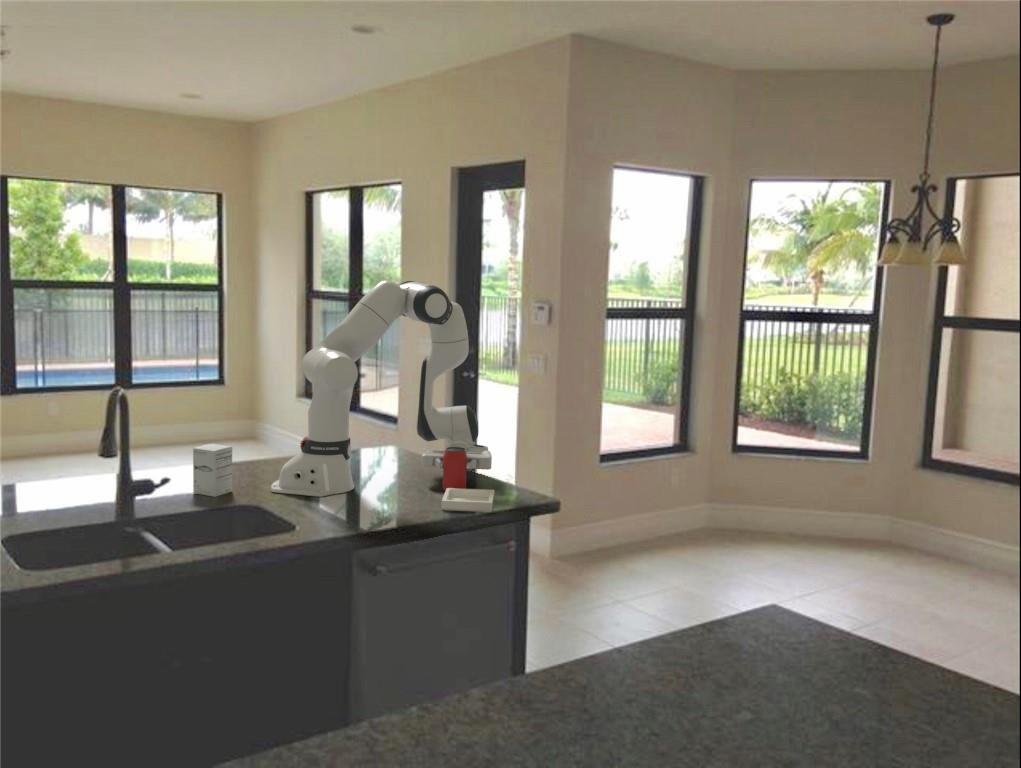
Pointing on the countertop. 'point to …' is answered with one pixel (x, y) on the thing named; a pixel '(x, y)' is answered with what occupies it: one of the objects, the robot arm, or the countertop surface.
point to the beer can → (454, 468)
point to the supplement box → (212, 470)
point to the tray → (468, 500)
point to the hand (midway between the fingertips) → (454, 466)
